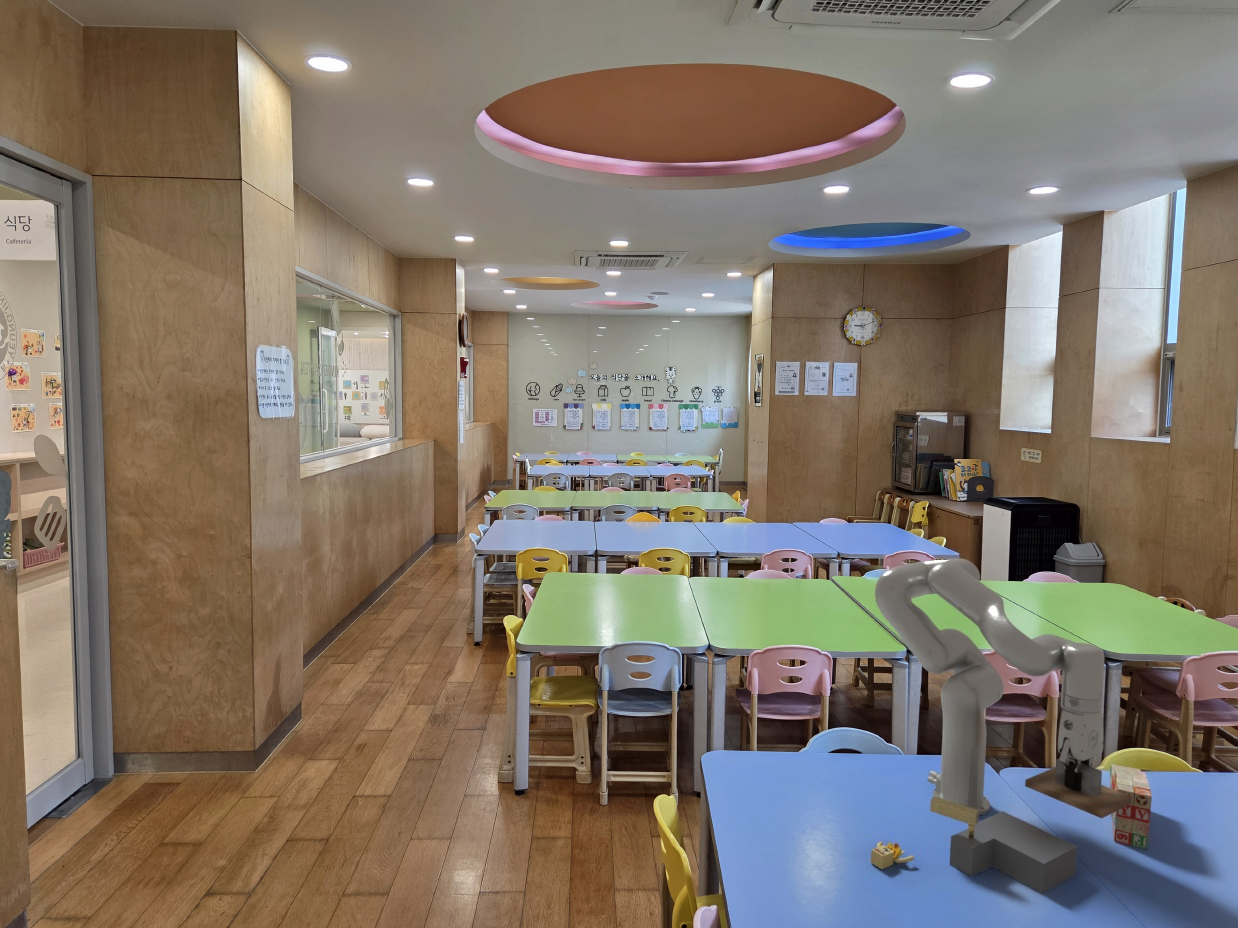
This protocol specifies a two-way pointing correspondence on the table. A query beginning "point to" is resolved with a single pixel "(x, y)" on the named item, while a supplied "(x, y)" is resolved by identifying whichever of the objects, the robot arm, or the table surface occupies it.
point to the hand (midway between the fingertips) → (1077, 785)
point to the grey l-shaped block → (1014, 852)
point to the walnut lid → (1088, 798)
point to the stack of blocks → (1131, 806)
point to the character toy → (887, 855)
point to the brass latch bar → (956, 813)
